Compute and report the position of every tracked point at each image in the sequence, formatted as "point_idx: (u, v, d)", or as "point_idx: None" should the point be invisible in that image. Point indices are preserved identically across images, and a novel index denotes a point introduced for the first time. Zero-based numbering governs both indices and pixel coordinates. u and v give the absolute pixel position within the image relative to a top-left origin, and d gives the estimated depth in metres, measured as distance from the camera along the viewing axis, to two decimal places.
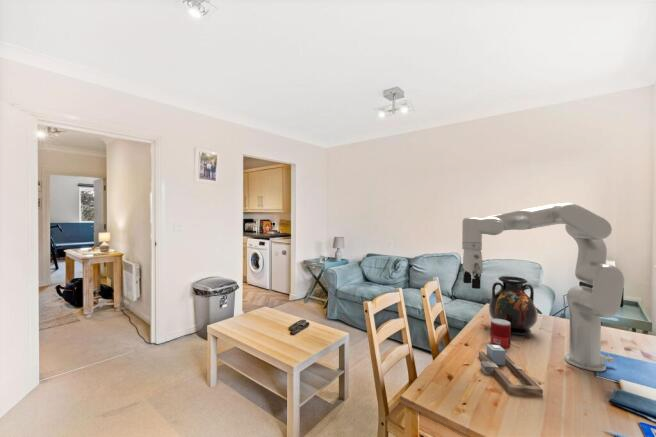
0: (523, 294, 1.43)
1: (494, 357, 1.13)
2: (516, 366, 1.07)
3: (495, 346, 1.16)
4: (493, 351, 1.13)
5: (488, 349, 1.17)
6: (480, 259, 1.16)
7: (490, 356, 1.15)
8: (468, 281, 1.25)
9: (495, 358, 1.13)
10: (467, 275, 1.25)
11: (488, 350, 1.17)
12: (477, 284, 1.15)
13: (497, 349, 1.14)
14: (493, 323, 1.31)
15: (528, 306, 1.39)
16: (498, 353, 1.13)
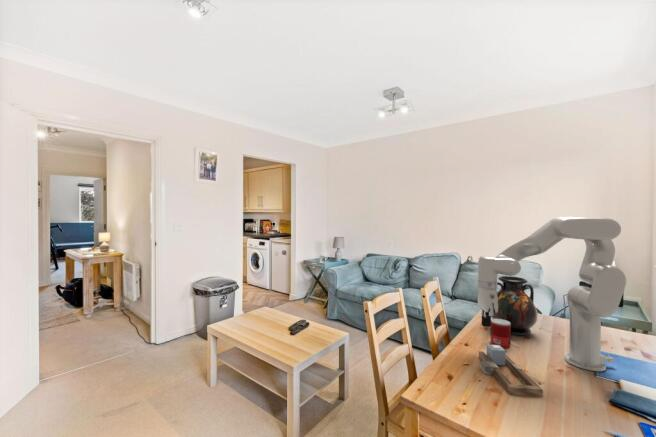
0: (523, 294, 1.43)
1: (494, 357, 1.13)
2: (516, 366, 1.07)
3: (495, 346, 1.16)
4: (493, 351, 1.13)
5: (488, 349, 1.17)
6: (496, 299, 1.19)
7: (490, 356, 1.15)
8: None
9: (495, 358, 1.13)
10: None
11: (488, 350, 1.17)
12: (488, 322, 1.22)
13: (497, 349, 1.14)
14: (493, 323, 1.31)
15: (528, 306, 1.39)
16: (498, 353, 1.13)
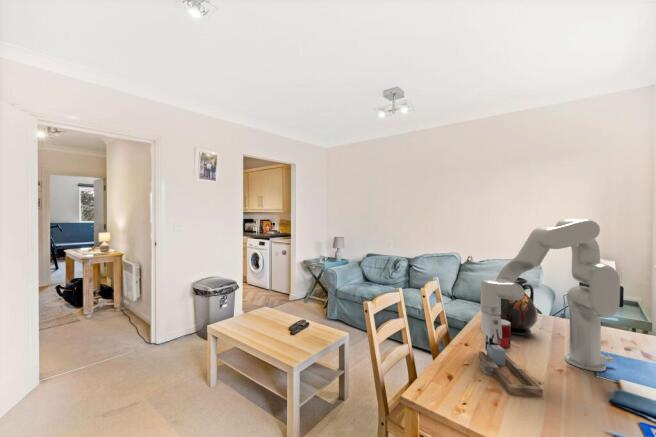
0: None
1: (494, 357, 1.13)
2: (516, 366, 1.07)
3: (495, 346, 1.16)
4: (493, 351, 1.13)
5: (488, 349, 1.17)
6: (499, 325, 1.16)
7: (490, 356, 1.15)
8: None
9: (495, 358, 1.13)
10: None
11: (488, 350, 1.17)
12: None
13: (497, 349, 1.14)
14: None
15: (528, 306, 1.39)
16: (498, 353, 1.13)
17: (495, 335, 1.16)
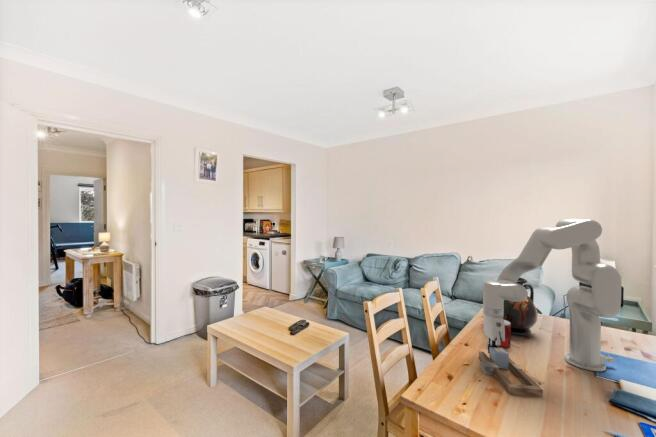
0: None
1: (496, 360, 1.11)
2: (516, 366, 1.07)
3: (498, 349, 1.13)
4: (496, 354, 1.11)
5: (491, 352, 1.14)
6: (502, 327, 1.13)
7: (493, 359, 1.12)
8: None
9: (498, 361, 1.11)
10: None
11: (491, 353, 1.14)
12: None
13: (500, 352, 1.11)
14: None
15: (528, 306, 1.39)
16: (501, 356, 1.11)
17: (498, 338, 1.14)
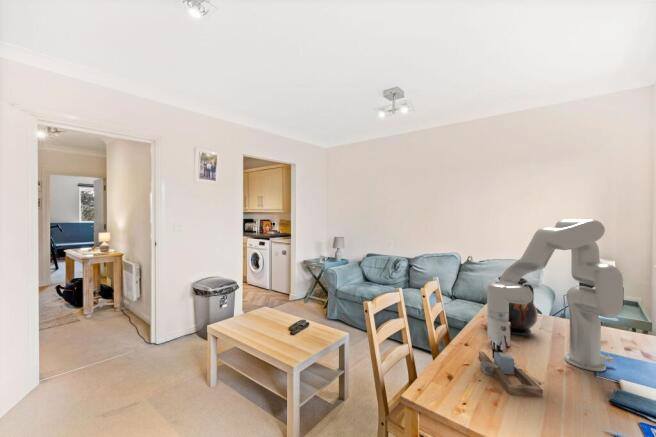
0: None
1: (502, 365, 1.07)
2: (516, 366, 1.07)
3: (503, 354, 1.09)
4: (501, 359, 1.07)
5: (495, 357, 1.10)
6: (508, 331, 1.09)
7: (498, 364, 1.08)
8: None
9: (503, 367, 1.07)
10: None
11: (495, 358, 1.10)
12: None
13: (505, 357, 1.07)
14: None
15: (528, 306, 1.39)
16: (506, 361, 1.07)
17: (503, 342, 1.09)
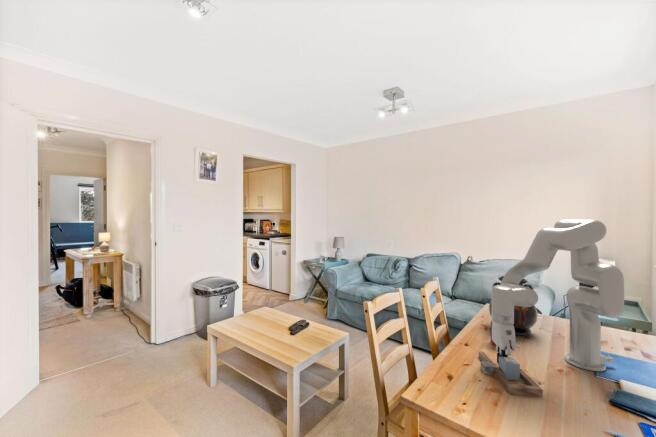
0: None
1: (507, 371, 1.03)
2: None
3: (508, 359, 1.05)
4: (506, 364, 1.03)
5: (500, 362, 1.06)
6: (513, 335, 1.05)
7: (503, 370, 1.04)
8: None
9: (508, 372, 1.03)
10: None
11: (500, 363, 1.06)
12: None
13: (511, 362, 1.03)
14: None
15: None
16: (512, 367, 1.03)
17: (508, 347, 1.06)
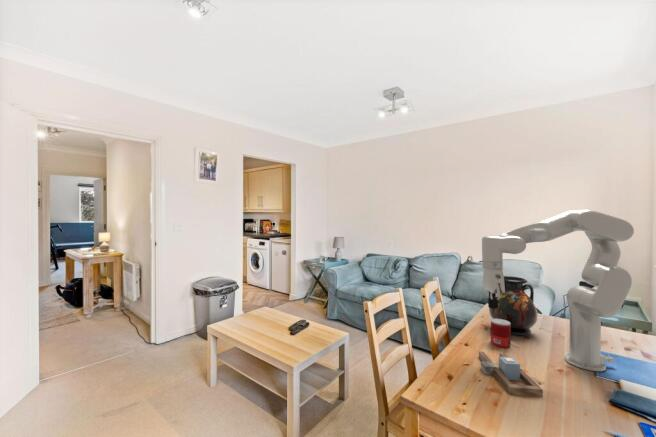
0: (523, 294, 1.43)
1: (507, 371, 1.03)
2: None
3: (508, 359, 1.05)
4: (506, 365, 1.03)
5: (500, 362, 1.06)
6: (502, 279, 1.14)
7: (503, 370, 1.04)
8: None
9: (508, 372, 1.03)
10: None
11: (500, 363, 1.06)
12: (495, 304, 1.18)
13: (511, 362, 1.03)
14: (493, 323, 1.31)
15: (528, 306, 1.39)
16: (512, 367, 1.03)
17: (498, 289, 1.15)
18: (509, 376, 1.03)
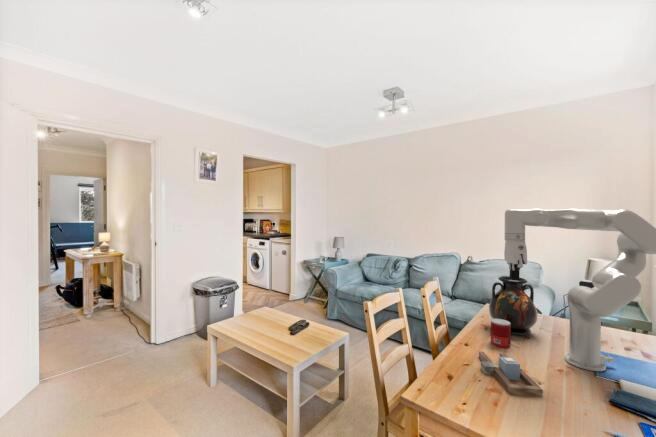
0: (523, 294, 1.43)
1: (507, 371, 1.03)
2: None
3: (508, 359, 1.05)
4: (506, 365, 1.03)
5: (500, 362, 1.06)
6: (525, 250, 1.17)
7: (503, 370, 1.04)
8: None
9: (508, 372, 1.03)
10: None
11: (500, 363, 1.06)
12: (516, 275, 1.21)
13: (511, 362, 1.03)
14: (493, 323, 1.31)
15: (528, 306, 1.39)
16: (512, 367, 1.03)
17: (520, 260, 1.17)
18: (509, 376, 1.03)
